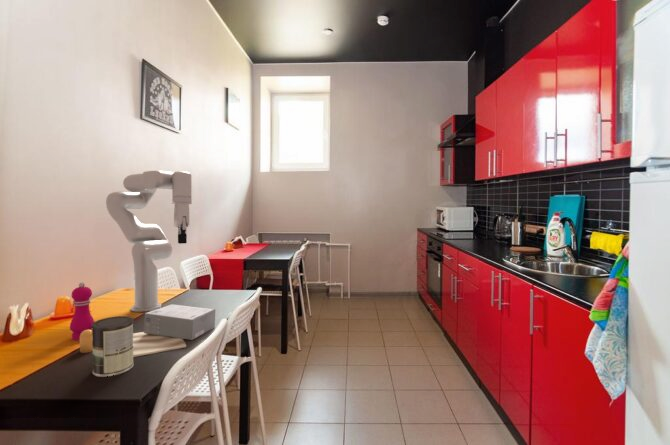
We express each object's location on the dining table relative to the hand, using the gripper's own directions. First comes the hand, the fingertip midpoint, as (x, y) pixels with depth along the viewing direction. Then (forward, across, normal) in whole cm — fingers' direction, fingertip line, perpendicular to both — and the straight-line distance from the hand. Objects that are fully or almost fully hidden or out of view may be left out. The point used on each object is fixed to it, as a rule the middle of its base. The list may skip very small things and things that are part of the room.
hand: (182, 243), depth 151 cm
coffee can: (+32, +42, -26) cm, 59 cm away
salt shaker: (+32, +22, -33) cm, 51 cm away
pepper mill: (+32, +7, -35) cm, 48 cm away
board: (+32, +25, -14) cm, 43 cm away
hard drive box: (+28, +12, -11) cm, 32 cm away
